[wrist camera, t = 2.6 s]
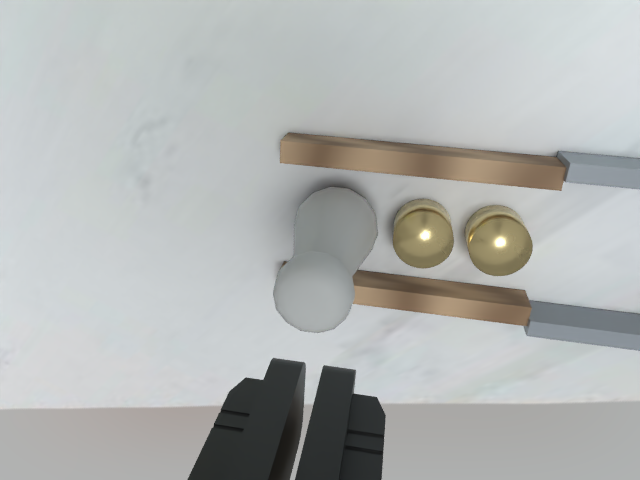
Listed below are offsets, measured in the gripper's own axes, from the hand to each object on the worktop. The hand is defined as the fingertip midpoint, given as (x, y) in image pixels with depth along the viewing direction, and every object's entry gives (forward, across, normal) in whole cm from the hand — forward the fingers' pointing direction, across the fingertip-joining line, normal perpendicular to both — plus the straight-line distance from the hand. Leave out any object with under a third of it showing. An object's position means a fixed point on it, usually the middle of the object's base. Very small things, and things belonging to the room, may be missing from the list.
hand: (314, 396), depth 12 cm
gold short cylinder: (+27, +4, -6) cm, 28 cm away
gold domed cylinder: (+27, +9, -6) cm, 29 cm away
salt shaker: (+27, -2, -6) cm, 28 cm away
